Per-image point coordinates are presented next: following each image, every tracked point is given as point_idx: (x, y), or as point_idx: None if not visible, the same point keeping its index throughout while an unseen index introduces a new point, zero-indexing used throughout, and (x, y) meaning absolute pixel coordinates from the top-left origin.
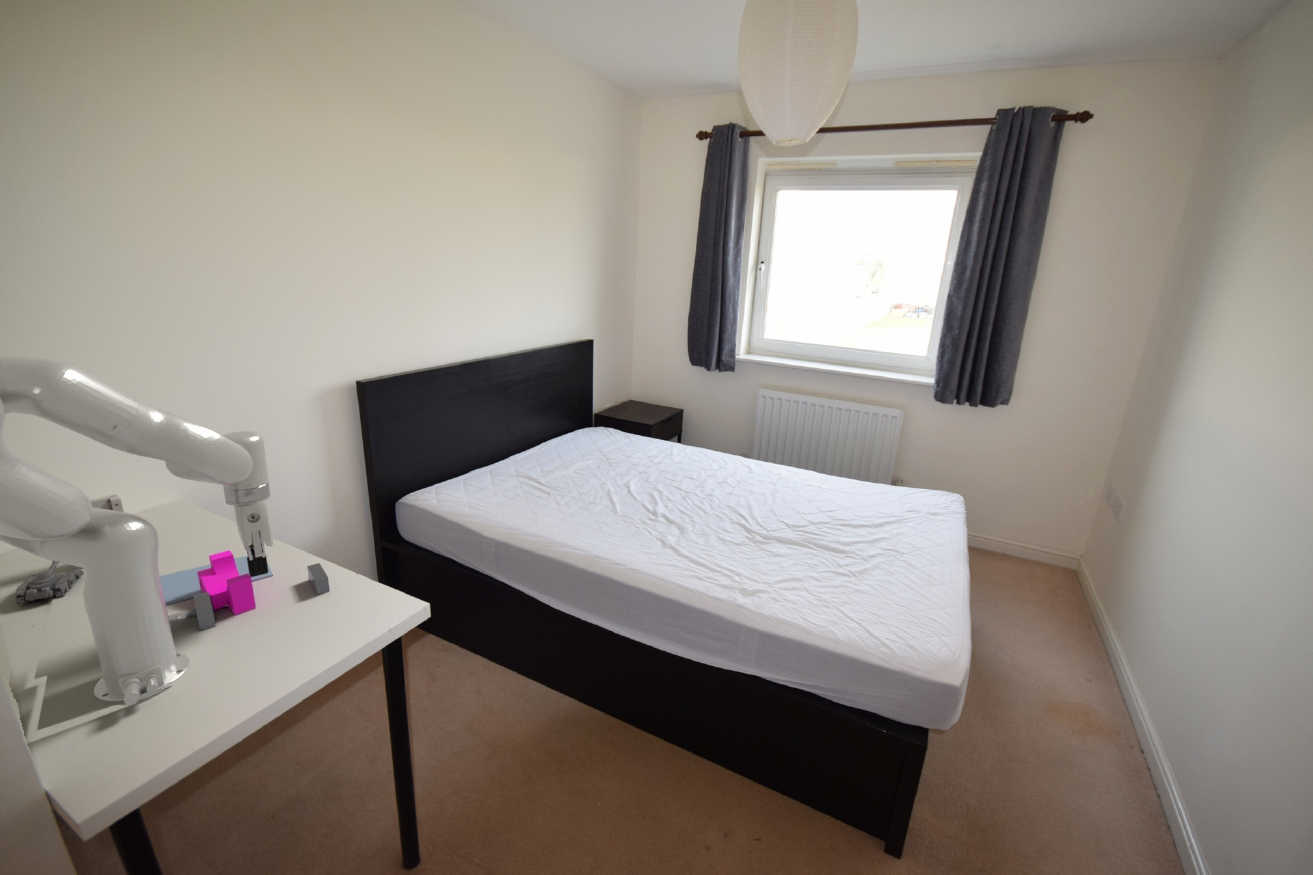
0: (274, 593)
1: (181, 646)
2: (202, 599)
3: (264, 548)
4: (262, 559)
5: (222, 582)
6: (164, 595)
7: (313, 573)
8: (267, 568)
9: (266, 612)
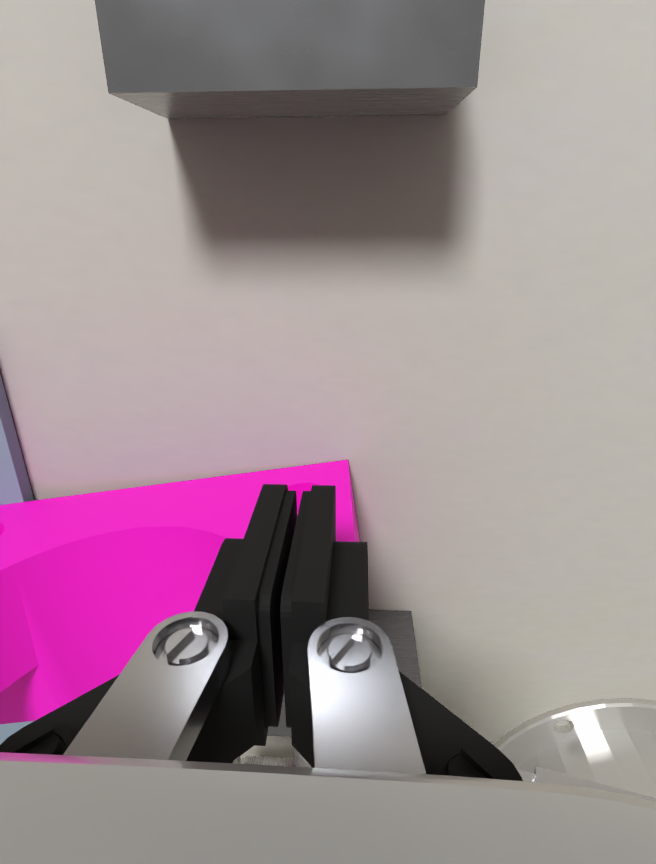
0: (224, 353)
1: (489, 706)
2: (281, 712)
3: (419, 763)
4: (326, 612)
5: (101, 620)
6: (17, 726)
7: (312, 69)
8: (332, 507)
9: (435, 424)
